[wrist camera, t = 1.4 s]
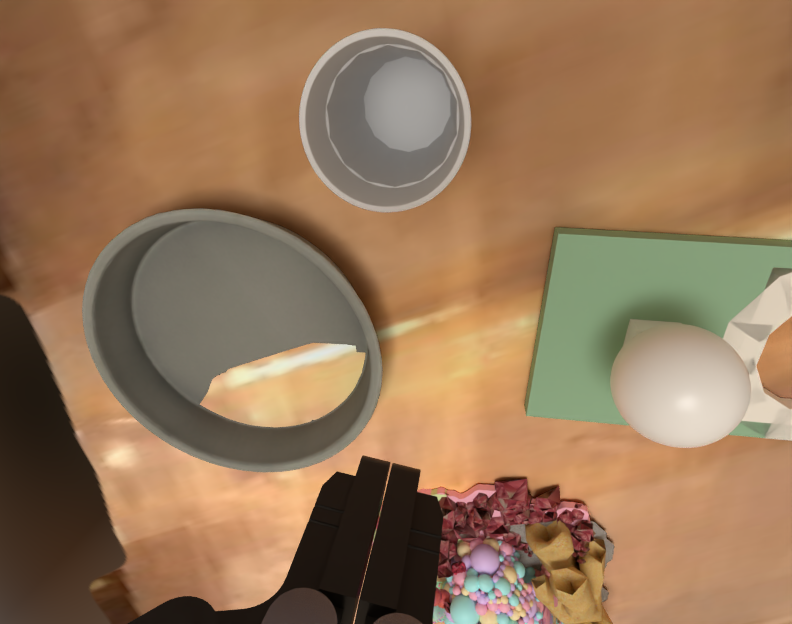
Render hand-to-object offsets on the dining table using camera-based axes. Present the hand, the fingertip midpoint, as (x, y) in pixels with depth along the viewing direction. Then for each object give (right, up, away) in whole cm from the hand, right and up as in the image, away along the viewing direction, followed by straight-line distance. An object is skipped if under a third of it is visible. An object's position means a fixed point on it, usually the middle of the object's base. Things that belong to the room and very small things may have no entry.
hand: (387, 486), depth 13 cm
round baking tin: (-13, +3, +32) cm, 34 cm away
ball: (+19, 0, +20) cm, 27 cm away
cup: (+1, +18, +21) cm, 28 cm away
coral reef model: (+10, -22, +41) cm, 48 cm away
